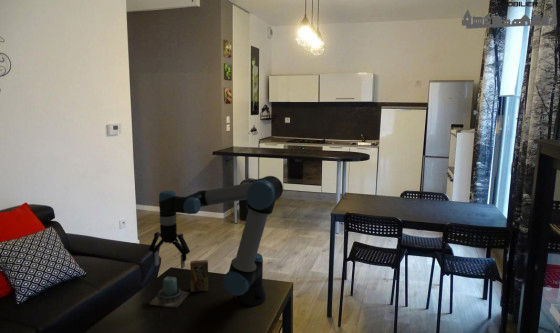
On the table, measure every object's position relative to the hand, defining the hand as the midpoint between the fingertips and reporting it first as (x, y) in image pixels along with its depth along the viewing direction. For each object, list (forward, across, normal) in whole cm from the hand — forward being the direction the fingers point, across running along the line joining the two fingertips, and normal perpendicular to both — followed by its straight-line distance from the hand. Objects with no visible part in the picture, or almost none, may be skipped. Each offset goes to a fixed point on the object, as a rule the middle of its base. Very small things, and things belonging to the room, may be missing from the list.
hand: (169, 266), depth 182 cm
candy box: (+17, -9, -12) cm, 23 cm away
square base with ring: (+17, +1, 0) cm, 17 cm away
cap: (+16, 0, 0) cm, 16 cm away
